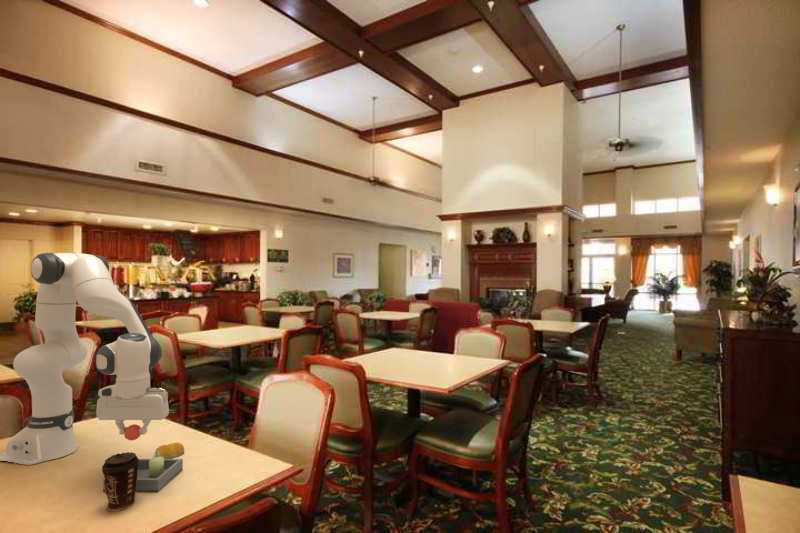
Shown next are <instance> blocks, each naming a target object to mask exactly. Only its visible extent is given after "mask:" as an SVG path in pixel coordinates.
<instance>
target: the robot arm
mask: <svg viewBox="0 0 800 533" xmlns="http://www.w3.org/2000/svg"><path fill="white" fill-rule="evenodd" d="M30 274H31V277H32V279H34V280H35V282H36V283H39V285H38V289H37V295H36V303H35V304H36V305H35V315H34V316H35V317H34V318H35V320H34V325H35V327H36V328H37V329H39V330H40V331H41V333H42V334H43V336H44V343H41V344H36V345H32V346H30V347H28V348H26V349H24V350H22V351H20V352H19V353H17V355H15V357H14V359H13V362H12V363H13V364H12V365H13V366H12V367H13V370H14V372H15V373H16V374H17V376H18V377H20V378H22V379H24V380H25V382H26V383H27V385H28V387H29V390H30V395H31V410H32V411H31V415H29V416H28V417H26V418H23V420H24V421H23V423H26V422H27V424H26V426H25V427H23V429H21V430H20V431H19V432H17V433H15V435H13V436H12V437H11V438H9V440H8V441H7V444H6V448H5V452H2V453H1V454H0V461H8V462H14V463H13V464H17V463H18V464H20V465H26V466H27V465H28V466H31V465H36V464H39V463H43V462H47V461H51V460H52V461H53V460H56V459H60V458H63V457H66V456H68V455H70V454H72V453H74V452H76V450H78V448H79V447H78V444H77V442H76V438H75V432H74V420H75V412H74V409H73V387H72V386H71V385H70V384H67V383H66V382H65V380H64V377H63V371H67V370H69V369H72V368H74V367H76V366H78V365H79V364H80V363H83V362H84V361H85V359H86V358H87V355H88V349H87V345H86V344H85V343H84V342H83V341H82V340H81V339H80V337H79V334H78V330H77V327H76V326H77V325H76V313H77V312H76V311H77V304H78V306H80V308H82V309H83V310H84V311H85V312H89V313H91V314H93V315H99V316H104V317H110V318H112V319H116V320H118V321H120V322H121V323H122V324H123V325H124V326H125V328H126V331H128V332H127V333H124V334H121V335H119V336H118V337H117V339H116V340H115V341H113V342H111V343H108V344H105V345H102V346H101V347H100V348H99V349H98V351H97V352H96V354H95V358H94V363H95V369H96V370H97V371H98V372H99V373H101V374H103V375H105V376H107V375H109V376H114V375H116V378H115V382H114V383H112V384H109V385H107V386H105V387H103V388H100V389H99V390H98V391H97V392H98V396H99V397H98V399H97V401H96V403H97V404H96V408H95V409H96V410H95V411H96V418H97V420H99V421H115V425H116V427H117V428H118V430H119V431H118V432H119V433H118V434H119V435H124V432H125V430H126V428H127V427H128V426H126V425H125V423H124V422H125V421H142V424H143V426H142V427H141V426H140V427H141V428H140V429H139V434H141V435H146V434H147V433H148V427H149V425H150V423H151V422H152V421H161V420H164V419H165V418H167V417H168V416H169V414H170V409H169V401H168V399H169V393H168V391H167V390H166V389H164V388H163V387H158V388H157V387H151V373H150V370H152V369H154V368H155V367H156V366H157V365H158V364H159V363H160V361H161V359H162V356H163V349H162V346H161V345H160V343H159V342H158V341H157V339H156V338H155V337H154V336H153V334H152V333H151V331H150V329H149V327H148V326H147V324H146V322H145V320H144V319H143V318H142V315H141V314H140V312H139V310H138V309H137V307H136V305H135V304H134V302H133V301H132V300H131V299H130V298H128V297H125V296H124V294H122V292H120V291H119V289H118V288H117V287H116V285H115V284H114V281H113V278H112V276H111V274H110V264H109V262H108V260H107V259H106V258H105V257H104V256H102V255H98V254H88V253H81V252H56V253H55V252H43V253H39V254H37V255H36V256H35V257H34V258H33V259H32V261H31V265H30ZM8 462H7V463H8Z"/></svg>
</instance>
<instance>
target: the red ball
mask: <svg viewBox="0 0 800 533" xmlns="http://www.w3.org/2000/svg"><path fill="white" fill-rule="evenodd" d="M126 427H127V428H126V430H125V432H124V434H123V435H124V438H125V439H126V440H128V441H135V440H138V439H139V438H140V437H141V435H142V434H139V429H140V428H141V426H140V425H138V424H130V425H128V426H126Z"/></svg>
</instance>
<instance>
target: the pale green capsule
mask: <svg viewBox="0 0 800 533" xmlns="http://www.w3.org/2000/svg"><path fill="white" fill-rule="evenodd" d="M149 459H150V460H149V478H158V477H159V476H160V475H161V474H162V473H164V457H161V456H159V457H155V456H154V457H151V458H149Z"/></svg>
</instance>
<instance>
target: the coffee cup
mask: <svg viewBox="0 0 800 533" xmlns="http://www.w3.org/2000/svg"><path fill="white" fill-rule="evenodd" d="M138 459H139V458H138V456H137V455H136V453H134V452H132V451H131V452H121V453H116V454H112V455H111V456H109V457H107V458H106V459H105V460H104V463H103V464H102V467H101V469H102V473H103V476H104V478H103V480H104V486H105V492H104V493H105V495H106V497H107V500H108V503H107V506H106V509H107V510H108V511H112V512H118V511H121V510H124V509H126V508H130V507H131V506H132V505H133V504H134V503H135V501H136V500H135V499H136V498H135V497H136V492H135V491H136V487H137V469H138V463H139V462H138Z"/></svg>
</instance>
